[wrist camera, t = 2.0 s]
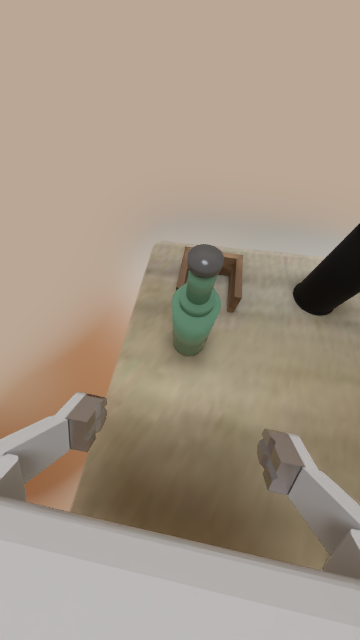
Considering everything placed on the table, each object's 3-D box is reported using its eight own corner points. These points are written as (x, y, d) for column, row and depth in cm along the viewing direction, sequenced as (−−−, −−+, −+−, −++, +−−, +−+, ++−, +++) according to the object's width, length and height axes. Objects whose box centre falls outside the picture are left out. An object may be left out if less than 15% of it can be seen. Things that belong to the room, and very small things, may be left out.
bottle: (205, 329, 34) (240, 238, 16) (202, 358, 31) (239, 290, 13) (176, 324, 34) (178, 230, 16) (170, 353, 31) (165, 278, 14)
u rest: (235, 272, 40) (242, 255, 36) (233, 312, 35) (241, 297, 31) (184, 264, 41) (185, 246, 36) (175, 302, 36) (176, 287, 32)
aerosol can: (288, 304, 37) (396, 202, 19) (297, 276, 40) (397, 168, 22) (330, 322, 35) (493, 230, 17) (336, 292, 38) (478, 189, 20)
